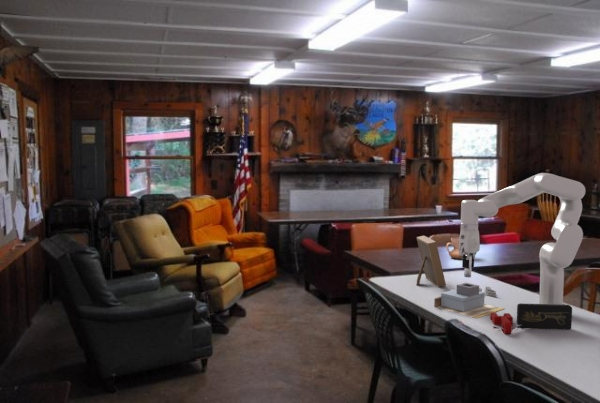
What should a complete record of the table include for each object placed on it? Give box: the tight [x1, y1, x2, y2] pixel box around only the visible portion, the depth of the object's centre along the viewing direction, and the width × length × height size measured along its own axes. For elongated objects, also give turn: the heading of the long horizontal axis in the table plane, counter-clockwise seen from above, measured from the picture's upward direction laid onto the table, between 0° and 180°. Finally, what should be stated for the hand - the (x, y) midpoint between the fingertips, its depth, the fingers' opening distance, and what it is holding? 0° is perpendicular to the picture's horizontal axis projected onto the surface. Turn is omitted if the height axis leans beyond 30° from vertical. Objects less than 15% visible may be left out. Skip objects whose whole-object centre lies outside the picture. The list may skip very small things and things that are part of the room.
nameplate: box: [516, 302, 573, 331], centre depth 214 cm, size 21×2×10 cm, turn 84°
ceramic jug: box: [445, 236, 466, 260], centre depth 363 cm, size 18×14×14 cm
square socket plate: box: [440, 282, 486, 312], centre depth 240 cm, size 12×16×10 cm
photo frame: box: [416, 235, 447, 288], centre depth 292 cm, size 15×22×25 cm
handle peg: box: [463, 255, 472, 278], centre depth 237 cm, size 3×3×10 cm
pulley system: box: [479, 286, 498, 299], centre depth 263 cm, size 27×5×15 cm
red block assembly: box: [489, 312, 514, 335], centre depth 213 cm, size 16×7×5 cm, turn 172°
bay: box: [433, 296, 505, 321], centre depth 238 cm, size 22×22×6 cm
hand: (468, 267), depth 237 cm, fingers closed on handle peg, 3 cm apart
